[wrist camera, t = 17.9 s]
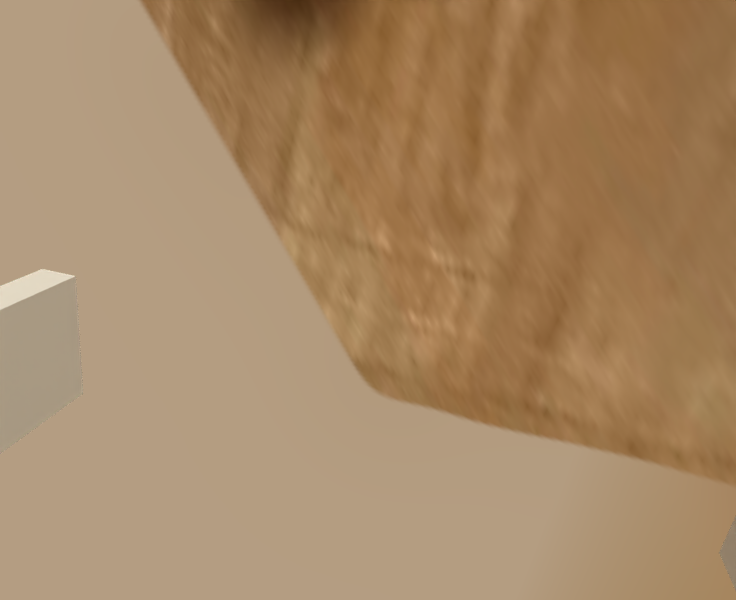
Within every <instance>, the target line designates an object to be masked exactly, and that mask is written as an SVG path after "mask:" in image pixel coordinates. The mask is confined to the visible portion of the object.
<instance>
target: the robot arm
mask: <svg viewBox="0 0 736 600" xmlns="http://www.w3.org/2000/svg"><path fill="white" fill-rule="evenodd" d="M82 394H83V384H82V369H81V353H80V337H79V322H78V305H77V289H76V276H73V275H68V274H63V273H58V272H54V271H49V270H44V269H42V270H39V271H36V272H34V273H31V274H29V275H27V276H24V277H21V278H19V279H16V280H14V281H12V282H9V283H6V284H4V285H1V286H0V454H1V453H2V452H4V451H5V450H6V449H7V448H9V447H10V446H12V445H13V444H14V443H16V442H17V441H19V440H20V439H21V438H23V437H24V436H26V435H27V434H28V433H30V432H31V431H32V430H34V429H35V428H37V427H38V426H39V425H41V424H42V423H43V422H45V421H46V420H48V419H49V418H50V417H51V416H53V415H54V414H56V413H57V412H58V411H60V410H61V409H62V408H64V407H65V406H67V405H68V404H69V403H71V402H72V401H74V400H75V399H76V398H78V397H79V396H80V395H82ZM719 553H720V556H721V558H722V560H723V563H724V565H725V567H726V569H727V572H728V574H729V576H730V578H731V581H732V583H733V585H734V588H735V590H736V517H735V519H734V521H733V523H732V525H731V528H730V530H729V532H728V534H727V537H726V539H725V541H724V543H723V545H722V548H721V550H720V552H719Z"/></svg>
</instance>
